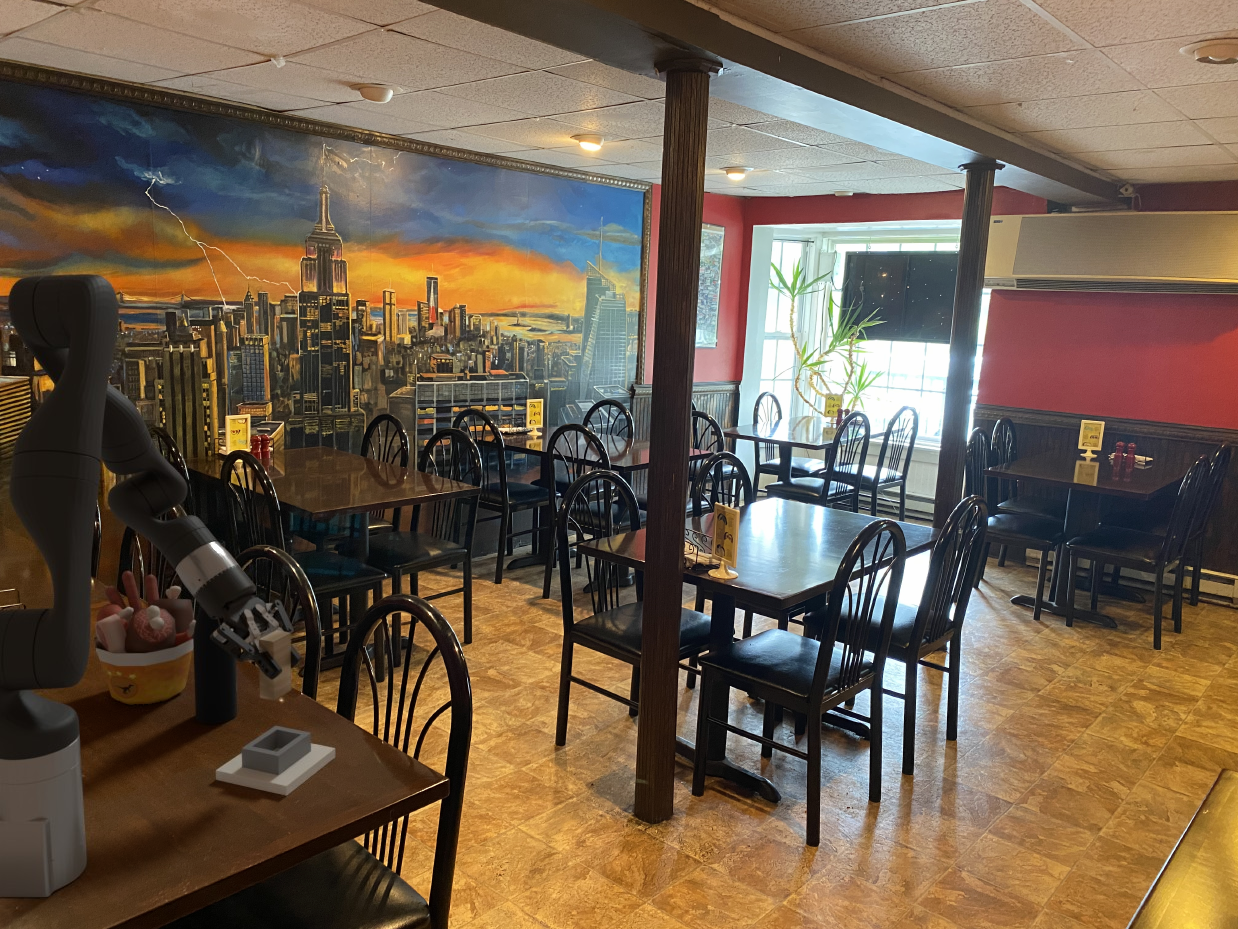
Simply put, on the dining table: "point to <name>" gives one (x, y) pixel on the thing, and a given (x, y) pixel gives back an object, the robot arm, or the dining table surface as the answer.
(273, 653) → the slat
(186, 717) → the dining table surface
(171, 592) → the bucket of meat
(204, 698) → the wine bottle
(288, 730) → the socket base
